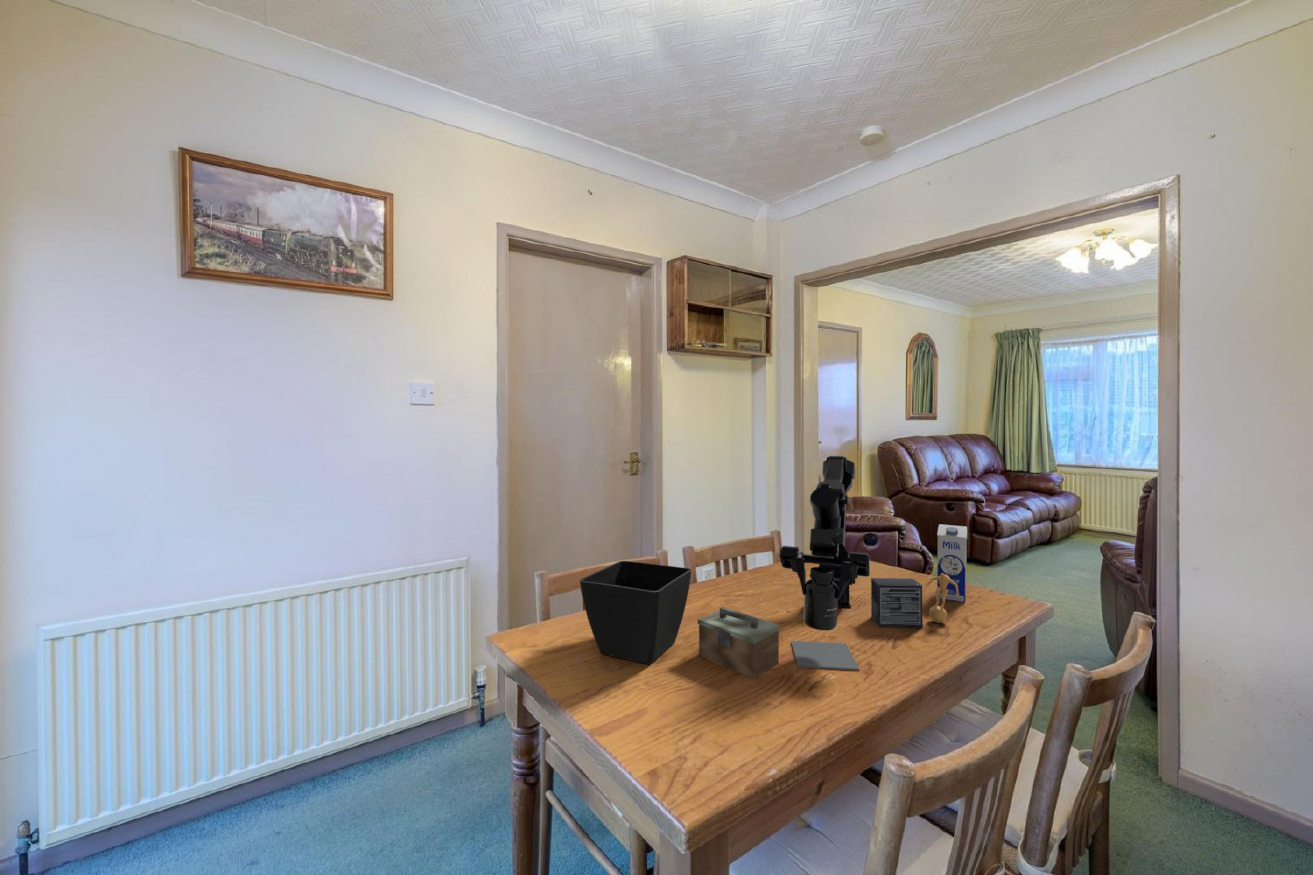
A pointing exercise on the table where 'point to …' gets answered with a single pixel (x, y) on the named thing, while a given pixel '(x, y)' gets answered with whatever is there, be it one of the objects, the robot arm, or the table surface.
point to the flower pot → (636, 608)
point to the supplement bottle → (821, 599)
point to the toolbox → (739, 641)
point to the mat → (823, 655)
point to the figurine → (937, 611)
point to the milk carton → (952, 559)
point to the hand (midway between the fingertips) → (820, 596)
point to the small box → (896, 602)
